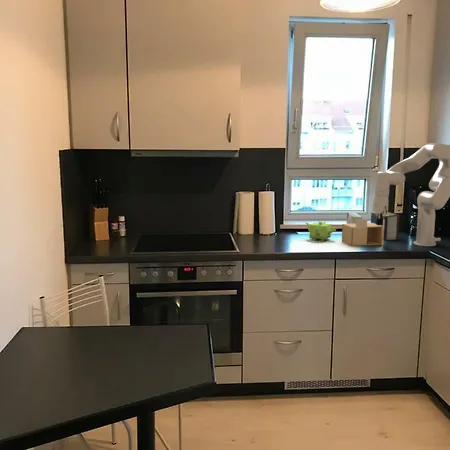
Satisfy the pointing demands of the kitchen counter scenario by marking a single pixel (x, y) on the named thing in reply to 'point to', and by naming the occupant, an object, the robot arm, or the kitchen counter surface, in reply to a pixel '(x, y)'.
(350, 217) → the snack box
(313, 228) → the kettle
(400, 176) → the robot arm
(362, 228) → the flap
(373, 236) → the carton
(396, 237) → the protein box
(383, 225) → the flap
